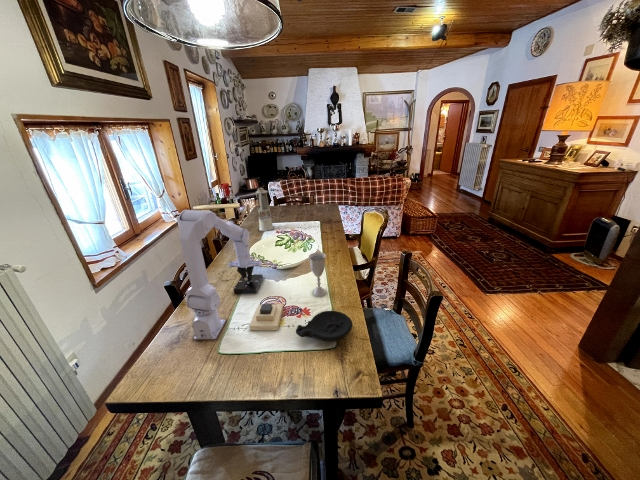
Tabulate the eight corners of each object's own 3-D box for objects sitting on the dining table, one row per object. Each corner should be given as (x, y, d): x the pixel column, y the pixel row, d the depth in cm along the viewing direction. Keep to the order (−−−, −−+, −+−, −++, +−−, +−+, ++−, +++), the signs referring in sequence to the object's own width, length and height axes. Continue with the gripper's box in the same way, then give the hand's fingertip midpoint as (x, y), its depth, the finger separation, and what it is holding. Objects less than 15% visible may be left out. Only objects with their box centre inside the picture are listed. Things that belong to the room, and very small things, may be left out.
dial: (248, 284, 114) (246, 277, 113) (245, 284, 114) (243, 277, 113) (251, 278, 119) (250, 271, 117) (248, 278, 119) (247, 271, 117)
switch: (270, 314, 94) (269, 310, 93) (260, 314, 94) (259, 310, 93) (272, 308, 97) (271, 303, 96) (263, 308, 97) (262, 303, 96)
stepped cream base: (277, 330, 91) (276, 321, 89) (250, 330, 92) (248, 321, 90) (283, 308, 102) (282, 300, 100) (259, 308, 102) (257, 300, 101)
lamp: (274, 225, 190) (269, 185, 177) (271, 232, 178) (265, 190, 165) (261, 226, 190) (254, 186, 178) (256, 232, 178) (249, 190, 166)
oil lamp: (294, 324, 93) (293, 313, 91) (345, 315, 96) (345, 304, 94) (299, 357, 80) (298, 345, 78) (358, 345, 83) (358, 333, 81)
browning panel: (256, 293, 112) (255, 288, 111) (234, 293, 113) (233, 288, 111) (263, 278, 123) (262, 274, 122) (243, 279, 123) (242, 274, 122)
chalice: (317, 286, 115) (314, 251, 107) (330, 290, 111) (328, 254, 104) (308, 295, 109) (305, 258, 102) (321, 299, 106) (319, 262, 98)
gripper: (261, 249, 114) (265, 275, 120) (230, 250, 115) (236, 275, 120) (257, 256, 108) (262, 283, 113) (224, 257, 108) (230, 284, 114)
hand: (248, 280), depth 116 cm, fingers closed on dial
